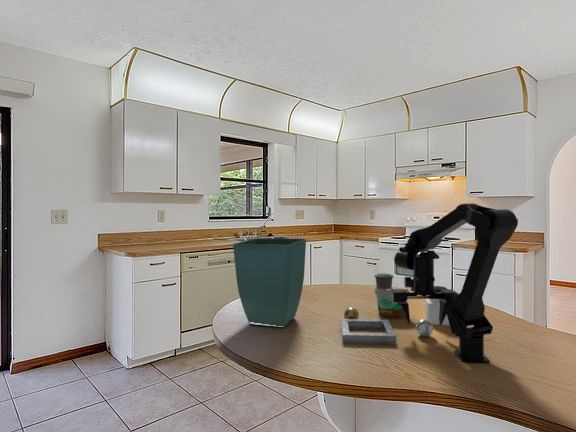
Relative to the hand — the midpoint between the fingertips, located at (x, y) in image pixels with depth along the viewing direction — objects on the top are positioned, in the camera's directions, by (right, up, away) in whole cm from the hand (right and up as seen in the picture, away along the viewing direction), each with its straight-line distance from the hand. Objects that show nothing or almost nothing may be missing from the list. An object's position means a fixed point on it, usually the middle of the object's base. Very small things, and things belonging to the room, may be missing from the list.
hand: (424, 324), depth 108 cm
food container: (-5, -4, +20) cm, 21 cm away
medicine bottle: (+10, -3, +13) cm, 17 cm away
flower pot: (-46, -5, +17) cm, 50 cm away
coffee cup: (+1, -3, +48) cm, 49 cm away
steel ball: (0, -1, 0) cm, 1 cm away
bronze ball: (-19, -1, +15) cm, 24 cm away
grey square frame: (-17, -4, +2) cm, 17 cm away
